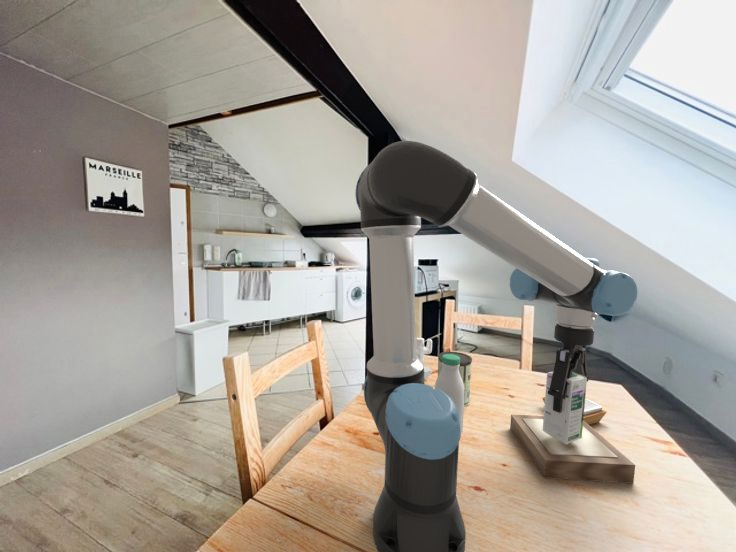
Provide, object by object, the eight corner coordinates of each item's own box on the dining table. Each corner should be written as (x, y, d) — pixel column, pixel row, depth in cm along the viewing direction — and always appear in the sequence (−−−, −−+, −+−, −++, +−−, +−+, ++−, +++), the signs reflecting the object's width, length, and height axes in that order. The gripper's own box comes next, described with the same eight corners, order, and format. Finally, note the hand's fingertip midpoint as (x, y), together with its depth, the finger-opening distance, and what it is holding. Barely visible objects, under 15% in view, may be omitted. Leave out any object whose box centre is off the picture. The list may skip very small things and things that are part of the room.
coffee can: (435, 390, 105) (437, 350, 104) (467, 394, 103) (469, 352, 102) (436, 406, 95) (438, 361, 94) (472, 409, 93) (474, 364, 92)
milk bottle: (464, 440, 78) (468, 362, 76) (432, 436, 79) (435, 360, 78) (461, 423, 85) (464, 352, 84) (432, 420, 87) (435, 350, 85)
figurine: (403, 375, 117) (404, 336, 116) (425, 372, 120) (426, 334, 119) (412, 383, 110) (413, 342, 109) (435, 380, 114) (436, 340, 112)
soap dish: (605, 424, 87) (607, 406, 87) (582, 431, 83) (583, 413, 83) (563, 403, 99) (564, 388, 98) (541, 408, 95) (542, 392, 95)
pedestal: (544, 477, 66) (545, 459, 65) (510, 428, 83) (511, 413, 83) (633, 483, 65) (635, 464, 64) (579, 432, 82) (580, 417, 82)
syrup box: (566, 445, 68) (573, 381, 66) (541, 430, 73) (546, 370, 72) (582, 439, 70) (588, 377, 69) (556, 425, 75) (562, 367, 74)
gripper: (577, 337, 60) (568, 442, 62) (607, 320, 77) (599, 404, 79) (536, 329, 66) (529, 426, 68) (571, 315, 82) (565, 393, 84)
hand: (566, 414), depth 73 cm, fingers open, 12 cm apart
